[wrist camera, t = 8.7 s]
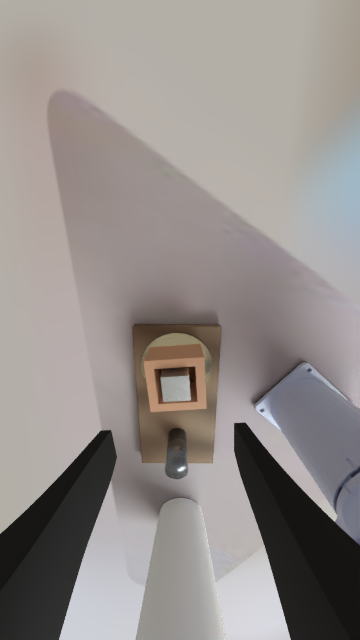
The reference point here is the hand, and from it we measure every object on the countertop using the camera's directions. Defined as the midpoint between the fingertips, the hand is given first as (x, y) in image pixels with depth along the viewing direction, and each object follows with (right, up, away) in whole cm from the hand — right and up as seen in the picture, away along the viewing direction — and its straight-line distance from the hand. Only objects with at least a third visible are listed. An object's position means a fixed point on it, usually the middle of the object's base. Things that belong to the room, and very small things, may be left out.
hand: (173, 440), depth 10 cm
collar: (0, +2, +8) cm, 8 cm away
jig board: (0, -2, +10) cm, 10 cm away
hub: (0, +2, +9) cm, 9 cm away
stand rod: (0, -7, +11) cm, 13 cm away
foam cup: (0, -22, +15) cm, 27 cm away
